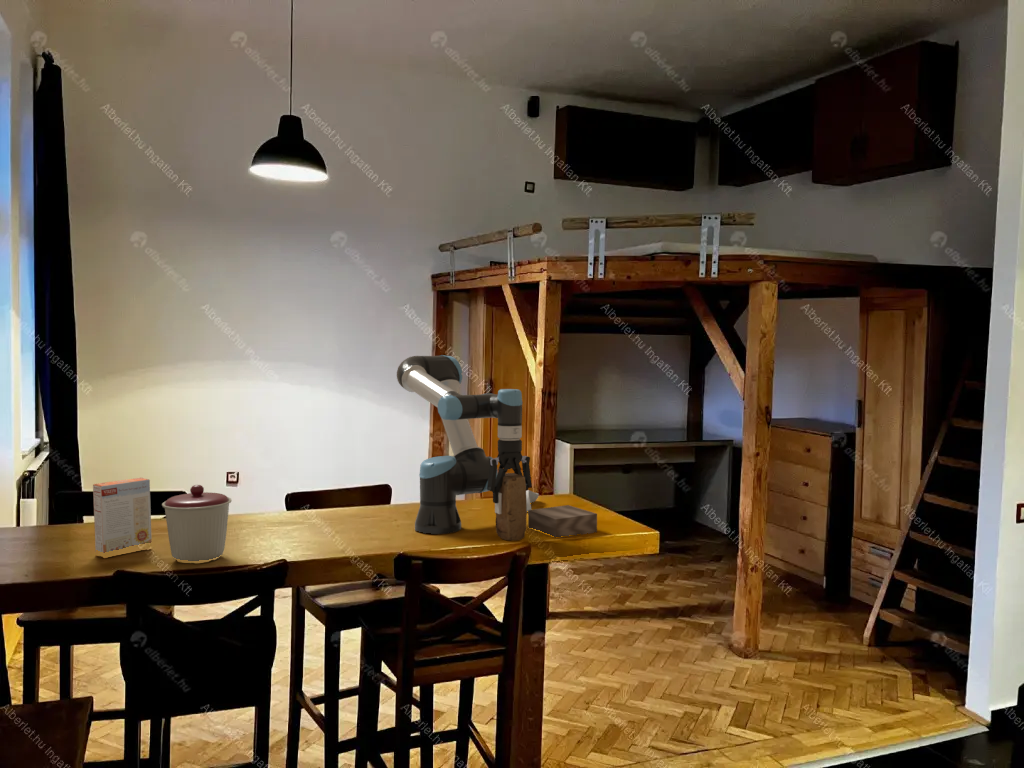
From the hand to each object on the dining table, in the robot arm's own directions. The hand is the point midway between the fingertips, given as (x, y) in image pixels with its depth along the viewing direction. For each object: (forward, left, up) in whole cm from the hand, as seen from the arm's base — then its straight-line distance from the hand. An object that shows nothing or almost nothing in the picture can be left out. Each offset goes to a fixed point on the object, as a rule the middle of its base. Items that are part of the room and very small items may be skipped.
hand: (509, 511), depth 252 cm
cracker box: (-105, +42, -8) cm, 113 cm away
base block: (+20, 0, -8) cm, 22 cm away
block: (0, 0, -8) cm, 8 cm away
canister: (-88, +23, -8) cm, 91 cm away
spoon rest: (+30, +40, -9) cm, 51 cm away
